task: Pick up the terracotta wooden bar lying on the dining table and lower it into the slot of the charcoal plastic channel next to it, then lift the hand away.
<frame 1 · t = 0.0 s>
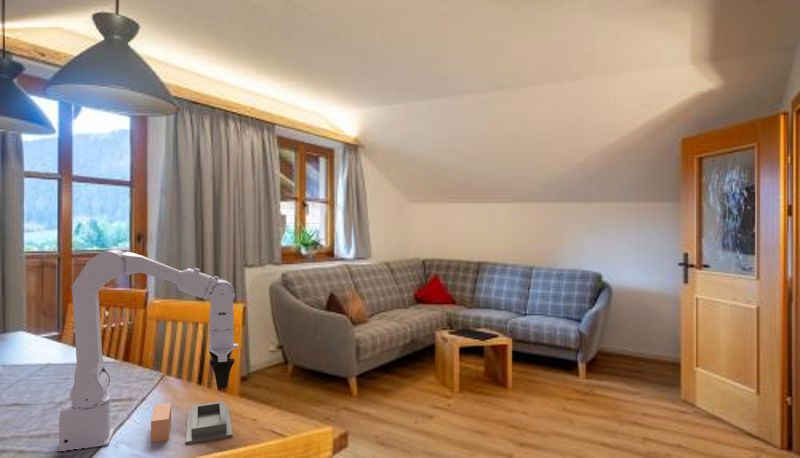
hand: (221, 382, 119), 10 cm above the table, fingers open, 7 cm apart
terracotta bar: (161, 432, 113), on the table
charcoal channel: (208, 424, 117), on the table
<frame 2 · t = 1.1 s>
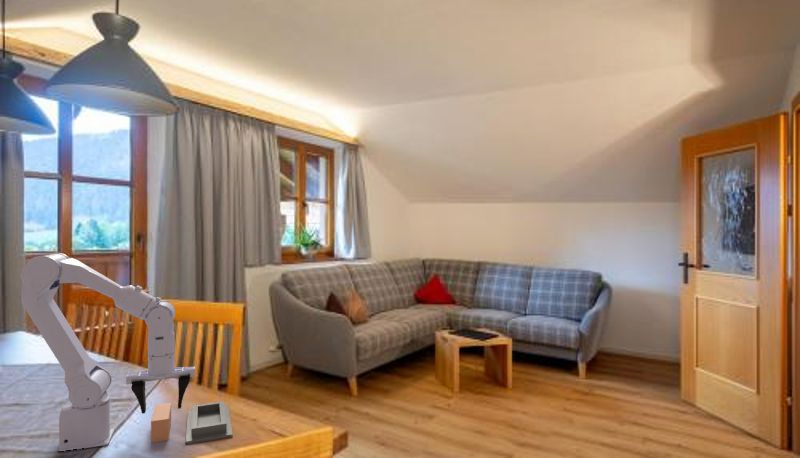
hand: (162, 409, 113), 5 cm above the table, fingers open, 7 cm apart
nothing on the table moved.
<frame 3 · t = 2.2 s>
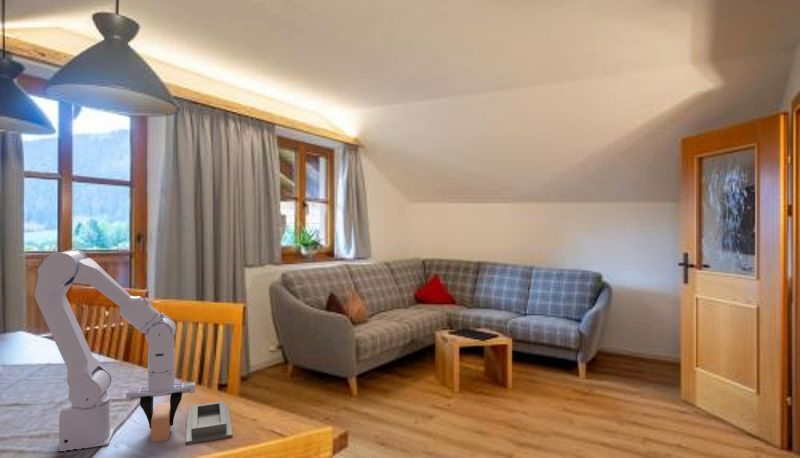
hand: (161, 425, 113), 1 cm above the table, fingers closed on terracotta bar, 4 cm apart
terracotta bar: (161, 431, 113), on the table, touching gripper
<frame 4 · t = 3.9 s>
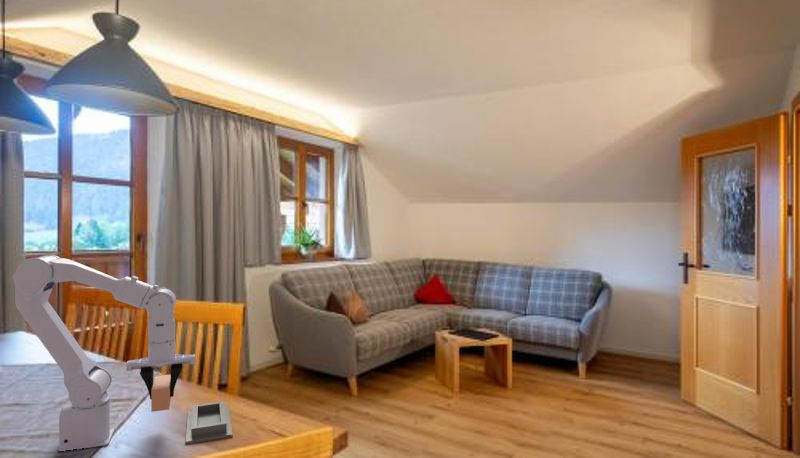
hand: (162, 396, 113), 8 cm above the table, fingers closed on terracotta bar, 4 cm apart
terracotta bar: (162, 402, 113), point 7 cm above the table, touching gripper
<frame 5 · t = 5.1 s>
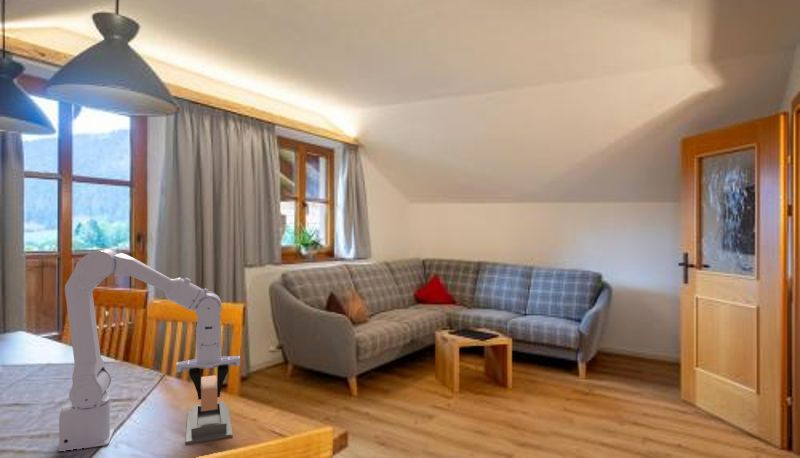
hand: (209, 396, 117), 7 cm above the table, fingers closed on terracotta bar, 4 cm apart
terracotta bar: (209, 402, 117), point 5 cm above the table, touching gripper
when the fingers open (3 cm above the table, at t = 6.0 s): terracotta bar drops 1 cm, resting on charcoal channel.
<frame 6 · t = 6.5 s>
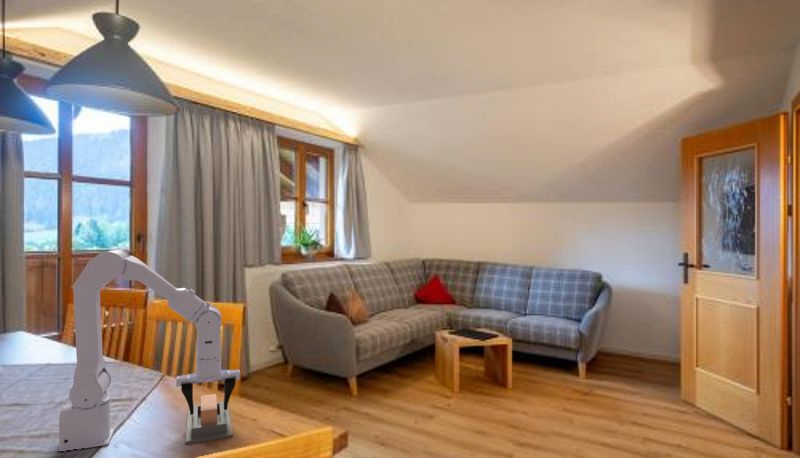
hand: (208, 410, 117), 3 cm above the table, fingers open, 7 cm apart
terracotta bar: (208, 421, 117), point 1 cm above the table, touching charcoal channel
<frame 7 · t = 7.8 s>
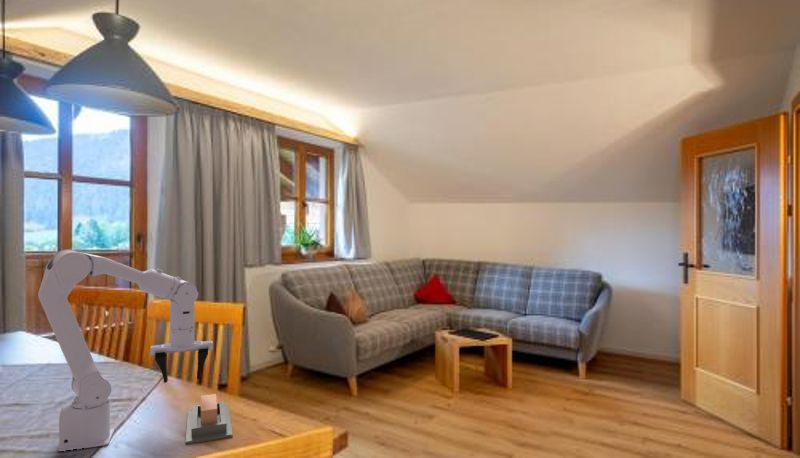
hand: (182, 379, 122), 9 cm above the table, fingers open, 7 cm apart
nothing on the table moved.
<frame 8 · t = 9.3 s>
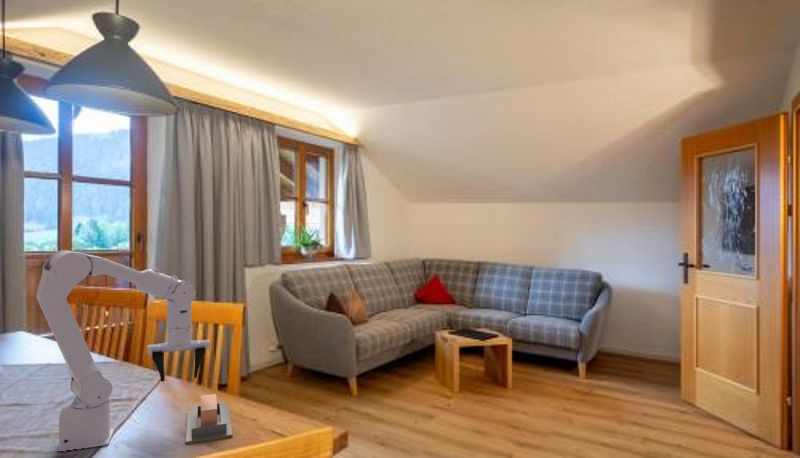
hand: (179, 378, 122), 9 cm above the table, fingers open, 7 cm apart
nothing on the table moved.
at the end: terracotta bar 0.0 cm off-centre on the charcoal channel, point 0.6 cm above the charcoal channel's base; terracotta bar tilted 0°; the gripper is holding nothing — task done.
